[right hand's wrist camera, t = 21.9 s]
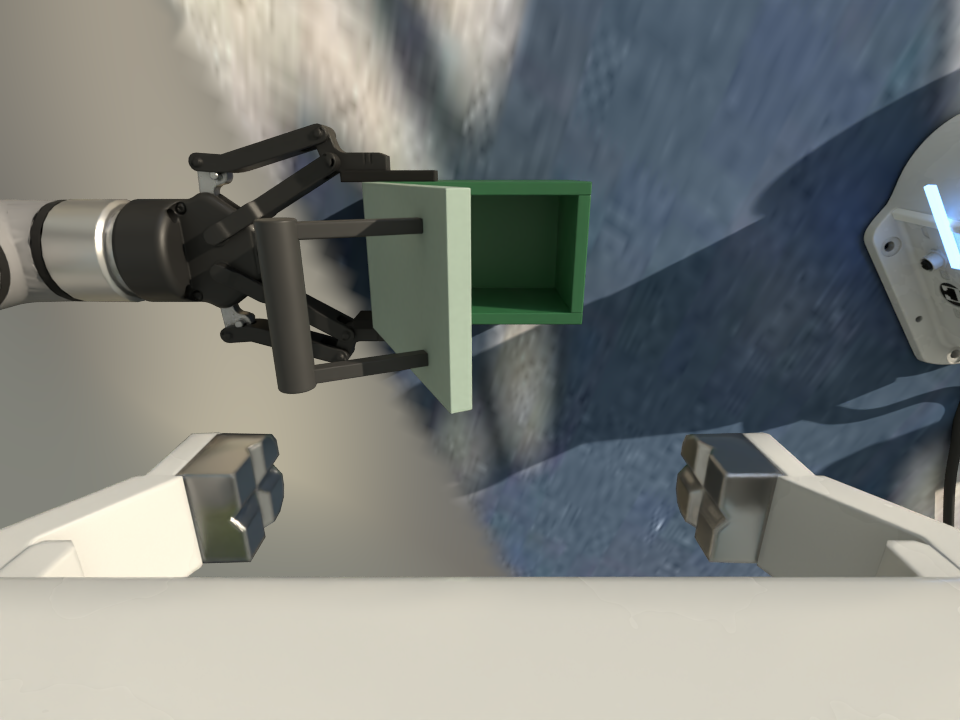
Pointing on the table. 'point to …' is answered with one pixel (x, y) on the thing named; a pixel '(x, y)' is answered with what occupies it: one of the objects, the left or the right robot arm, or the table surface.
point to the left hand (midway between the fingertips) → (438, 251)
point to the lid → (383, 289)
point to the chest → (527, 249)
